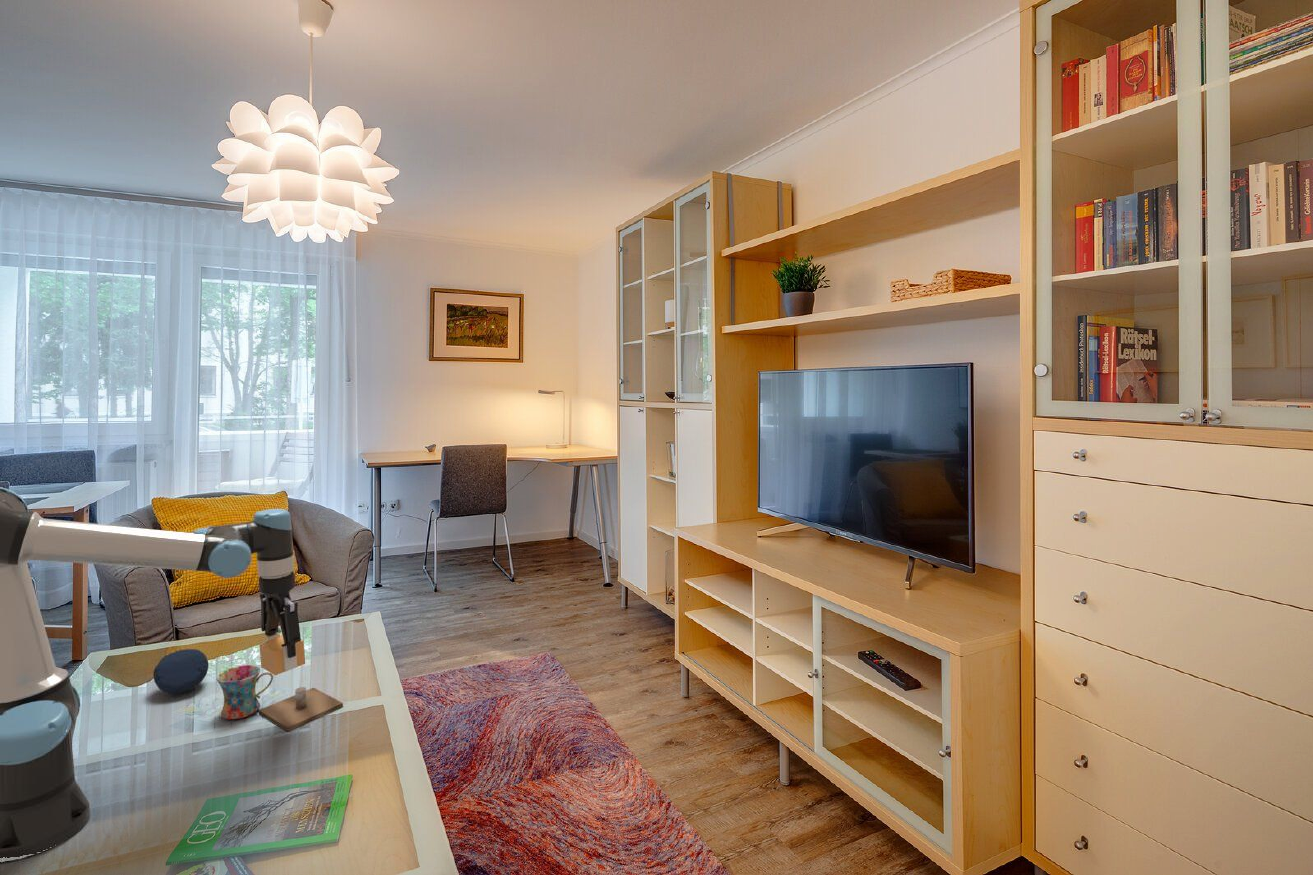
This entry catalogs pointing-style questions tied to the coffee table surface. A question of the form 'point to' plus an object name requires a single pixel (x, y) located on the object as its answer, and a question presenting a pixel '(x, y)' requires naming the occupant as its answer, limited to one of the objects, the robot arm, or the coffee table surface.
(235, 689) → the mug
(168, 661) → the decorative stone
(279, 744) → the coffee table surface
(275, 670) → the tan cardboard box
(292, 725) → the post board
